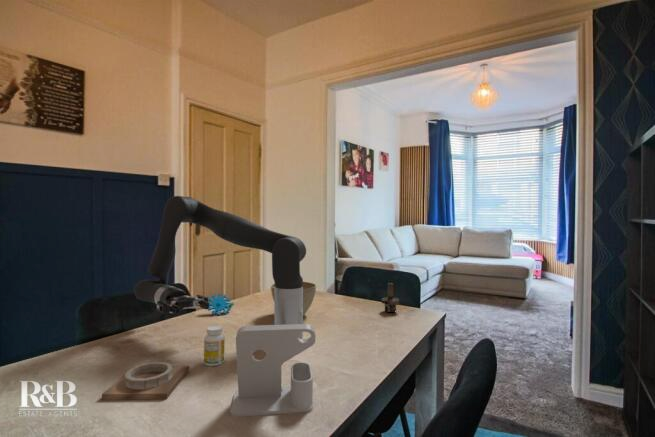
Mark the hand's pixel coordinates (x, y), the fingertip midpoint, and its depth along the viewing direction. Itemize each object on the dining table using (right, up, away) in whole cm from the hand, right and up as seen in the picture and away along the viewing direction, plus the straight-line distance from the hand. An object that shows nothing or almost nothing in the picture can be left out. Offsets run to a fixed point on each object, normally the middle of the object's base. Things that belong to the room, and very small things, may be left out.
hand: (194, 308), depth 104 cm
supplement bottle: (+8, -13, -8) cm, 17 cm away
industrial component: (+65, -13, +44) cm, 80 cm away
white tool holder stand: (+28, -14, -27) cm, 41 cm away
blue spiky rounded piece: (-4, -12, +40) cm, 43 cm away
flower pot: (+26, -13, +38) cm, 48 cm away
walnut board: (-3, -13, -20) cm, 24 cm away
